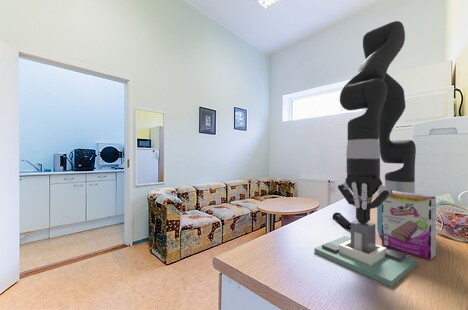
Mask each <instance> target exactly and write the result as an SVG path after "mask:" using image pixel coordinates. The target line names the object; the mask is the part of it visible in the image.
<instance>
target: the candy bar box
mask: <svg viewBox="0 0 468 310" xmlns="http://www.w3.org/2000/svg"><path fill="white" fill-rule="evenodd" d="M436 245H437V196H435V195H430V194H429V195H427V194H422V193H421V194H419V193H415V194H414V193H406V192H398V191H392V194H391V195H390V196H389V197H388V198H387V199H386V200H385V201H384V202H383V203H382V236H381V246H382V247H386V248H390V249H391V250H395V251H398V252H401V253H404V254H409V255H412V256H414V257H418V258H421V259H424V260H428V261H432V260H433V259H434V258H435V257H436V255H437V246H436Z"/></svg>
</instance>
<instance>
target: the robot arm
mask: <svg viewBox="0 0 468 310" xmlns="http://www.w3.org/2000/svg"><path fill="white" fill-rule="evenodd" d="M405 41H406V32H405V26H404V24H403V23H402V21H399V20H396V21H395V20H394V21H392V22H389V23H386V24H383V25H382V26H378V27H375V28H373V29H371V30H369V31H367V32H365V33H364V35H363V36H362V48H363V53H364V54H363V55H364V58H365V59H364V61H363V62H362V64H360V66H359V68H358V71H357V73H356V74H355V75H354V76H353V77H352V78H351V79H350V80H348V81H347V83H345V85H344V86H343V87H342V89H341V91H340V94H339V103H340V106H341V107H342V108H343V109H344V110H346V111H357V110H362V109H363V110H364V109H366V111H365V112H364V114H362V115H360V116H357V117H354V118H352V119H350V120H349V121H348V122H347V143H346V144H347V145H346V153H345V156H346V178H345V181H344V182H343V183H342V184H338V185H337V189H338V190H339V191H340V193H341V195H342V196H343V197H344V199H345V200H346V202H347V203H348V204H349V205H352V206H353V207H355V218H356V219H355V220H358V222H360V223H364V224H366V223H367V222H370V220H371V209H372V210H373V209H376V208H377V207H378V206H379V205H381V204H382V203H383V202H384V201H385V200H386V199H387V198H388V197H389V196H390V195H391V194H392V191H398V192H406V193H414V194H416V191H415V190H416V188H415V187H416V179H415V178H416V176H415V175H416V167H415V166H416V156H417V154H416V153H417V151H416V150H417V147H416V144H415V141H413V139H412V140H411V139H401V140H399V139H397V140H391V137H390V136H391V133H392V130H393V129H394V127H395V125H397V122H398V121H399V119H401V117H402V116H403V114H404V112H405V109H406V99H405V98H406V97H405V90H404V88H403V86H402V85H401V84H400V83H399V82H398V81H397V80H396V79H395V78H393V77H392V76H391V75H390V74H389V73H388V69H389V67H390V66H391V64H392V62H393V61H394V60H395V59H396V57H397V56H398V54H399V52H401V50H402V49H403V47H404V45H405ZM381 161H382V162H383V163H385V164H399V165H401V164H403V165H402V167H400V168H398V169H396V170H393V171H390V172H385V174H384V185H383V182H382V180H381ZM376 193H378V194H377V195H378V196H377V197H376V198H375V199H374V200H373V197H374V195H375V194H376Z"/></svg>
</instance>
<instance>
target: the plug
mask: <svg viewBox="0 0 468 310" xmlns="http://www.w3.org/2000/svg"><path fill="white" fill-rule="evenodd" d="M350 223H351V228H350V238H351V248H353V249H356V250H359V251H362V252H364V253H367V254H369V253H371V252H373V251H375V250H376V245H377V244H376V240H377V239H376V223H372V222H370V221H368V222H367V223H366V224H364V223H360V222H358V220H357V219H355V221H352V222H350Z"/></svg>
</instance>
